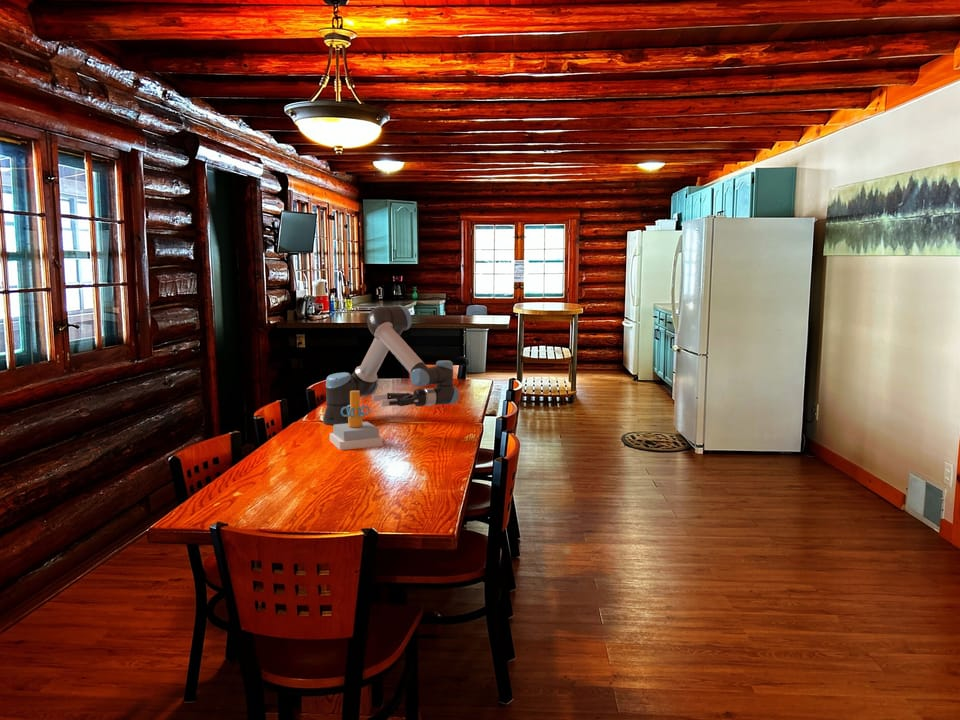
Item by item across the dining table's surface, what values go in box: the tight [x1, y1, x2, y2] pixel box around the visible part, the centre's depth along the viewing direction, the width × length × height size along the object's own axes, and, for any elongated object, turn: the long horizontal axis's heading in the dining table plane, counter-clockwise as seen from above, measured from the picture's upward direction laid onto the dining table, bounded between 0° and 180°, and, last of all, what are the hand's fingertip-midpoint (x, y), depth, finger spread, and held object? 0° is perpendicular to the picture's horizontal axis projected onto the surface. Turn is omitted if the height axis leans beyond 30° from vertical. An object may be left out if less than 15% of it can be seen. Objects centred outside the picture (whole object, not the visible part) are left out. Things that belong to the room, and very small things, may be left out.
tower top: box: [332, 421, 380, 441], centre depth 305 cm, size 15×15×4 cm
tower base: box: [329, 432, 384, 451], centre depth 305 cm, size 18×18×4 cm
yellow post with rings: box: [341, 390, 370, 427], centre depth 304 cm, size 12×10×15 cm
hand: (376, 400), depth 307 cm, fingers open, 13 cm apart
